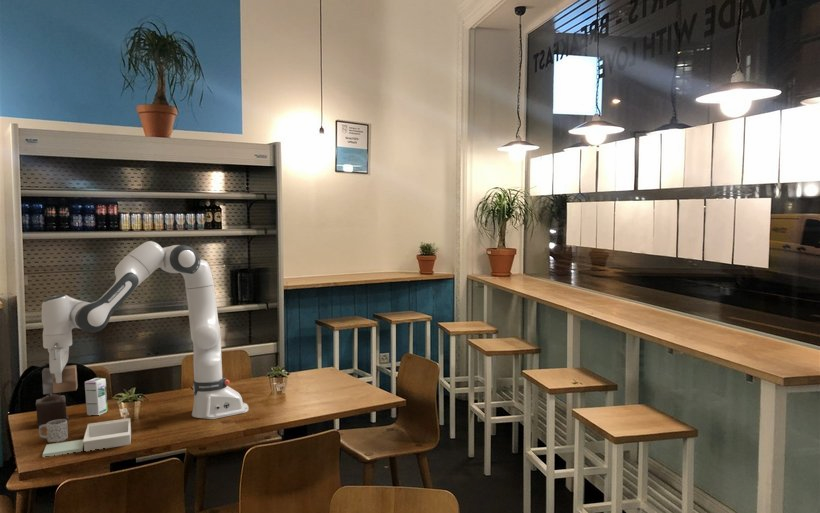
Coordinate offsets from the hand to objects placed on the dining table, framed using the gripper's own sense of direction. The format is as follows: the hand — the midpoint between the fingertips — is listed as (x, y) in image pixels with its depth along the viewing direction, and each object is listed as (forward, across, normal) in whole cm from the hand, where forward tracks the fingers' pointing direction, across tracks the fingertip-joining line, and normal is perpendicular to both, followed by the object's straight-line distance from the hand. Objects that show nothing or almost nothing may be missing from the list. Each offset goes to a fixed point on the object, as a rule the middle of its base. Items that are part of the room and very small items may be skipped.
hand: (60, 380), depth 216 cm
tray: (+25, +2, -14) cm, 28 cm away
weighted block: (+4, 0, 0) cm, 4 cm away
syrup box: (+25, +42, -8) cm, 50 cm away
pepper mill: (+25, +40, +8) cm, 48 cm away
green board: (+25, 0, 0) cm, 25 cm away
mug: (+25, +14, +5) cm, 29 cm away
